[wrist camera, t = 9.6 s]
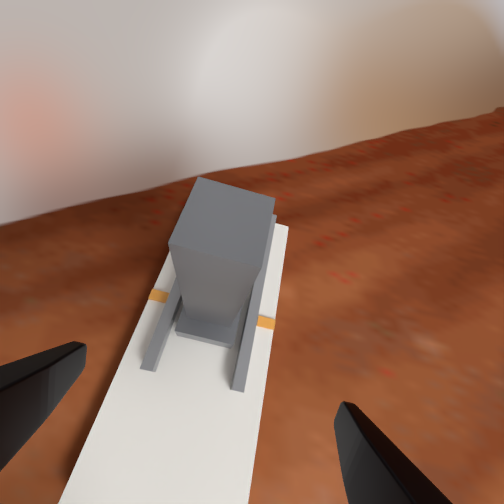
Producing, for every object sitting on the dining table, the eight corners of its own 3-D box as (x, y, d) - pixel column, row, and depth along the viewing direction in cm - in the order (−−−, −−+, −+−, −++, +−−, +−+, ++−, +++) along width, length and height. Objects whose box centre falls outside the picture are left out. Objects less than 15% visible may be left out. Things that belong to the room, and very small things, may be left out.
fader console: (238, 530, 14) (245, 559, 12) (69, 497, 13) (41, 522, 11) (284, 234, 25) (292, 219, 23) (192, 209, 24) (191, 191, 22)
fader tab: (230, 348, 17) (272, 302, 7) (177, 335, 17) (137, 267, 7) (244, 286, 20) (291, 183, 9) (198, 274, 20) (193, 155, 9)
